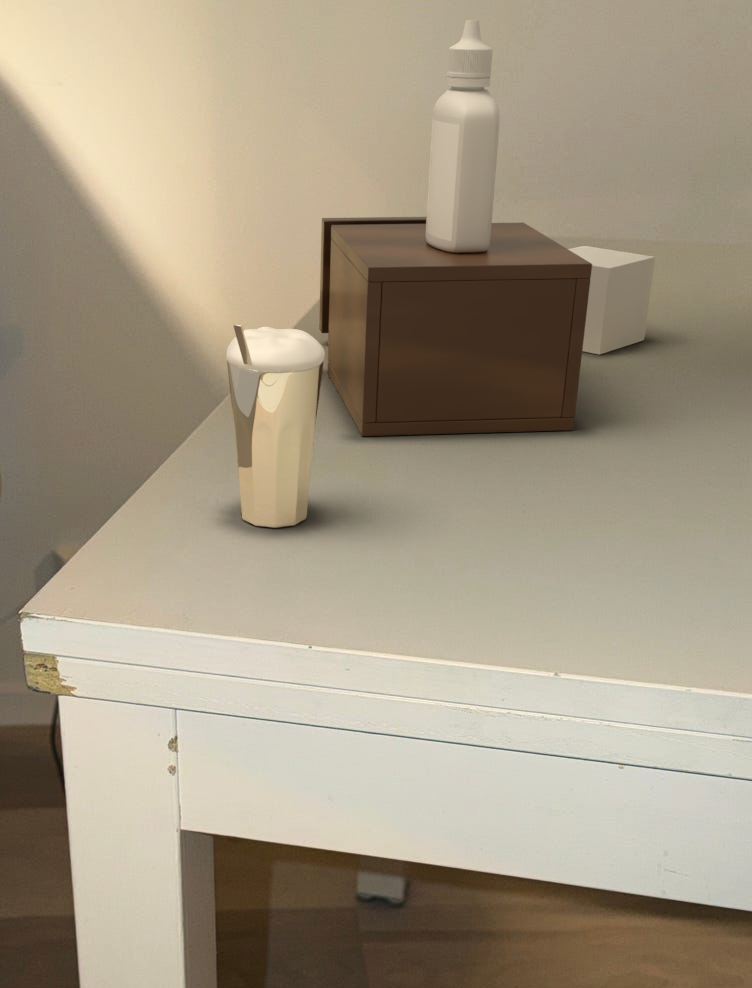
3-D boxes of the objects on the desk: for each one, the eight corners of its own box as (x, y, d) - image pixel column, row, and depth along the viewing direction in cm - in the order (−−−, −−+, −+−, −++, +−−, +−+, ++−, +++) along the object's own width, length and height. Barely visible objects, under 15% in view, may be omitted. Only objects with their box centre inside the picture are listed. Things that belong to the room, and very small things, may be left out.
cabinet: (327, 373, 88) (331, 224, 83) (510, 368, 89) (524, 222, 84) (361, 436, 75) (368, 267, 71) (573, 430, 77) (592, 263, 72)
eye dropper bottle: (408, 251, 75) (421, 20, 70) (431, 235, 80) (444, 18, 74) (484, 256, 74) (502, 22, 68) (502, 240, 79) (521, 19, 73)
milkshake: (199, 525, 63) (195, 318, 59) (261, 493, 67) (262, 296, 63) (277, 546, 61) (279, 332, 56) (337, 511, 65) (343, 309, 60)
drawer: (309, 313, 99) (311, 206, 95) (457, 310, 100) (464, 204, 97) (346, 376, 83) (350, 251, 80) (520, 372, 85) (532, 248, 81)
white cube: (599, 355, 92) (609, 268, 89) (528, 340, 96) (536, 256, 93) (644, 340, 96) (655, 256, 93) (574, 326, 100) (583, 245, 97)
